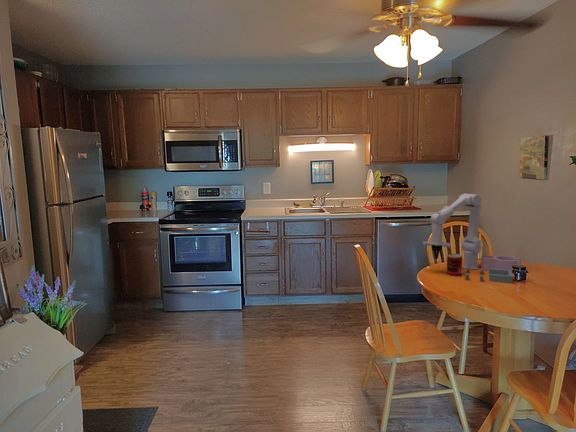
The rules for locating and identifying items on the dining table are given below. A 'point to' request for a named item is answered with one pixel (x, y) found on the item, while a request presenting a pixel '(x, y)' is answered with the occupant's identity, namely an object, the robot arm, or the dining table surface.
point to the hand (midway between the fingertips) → (436, 258)
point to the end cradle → (500, 275)
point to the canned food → (454, 264)
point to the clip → (499, 262)
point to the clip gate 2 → (481, 275)
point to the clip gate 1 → (467, 272)
